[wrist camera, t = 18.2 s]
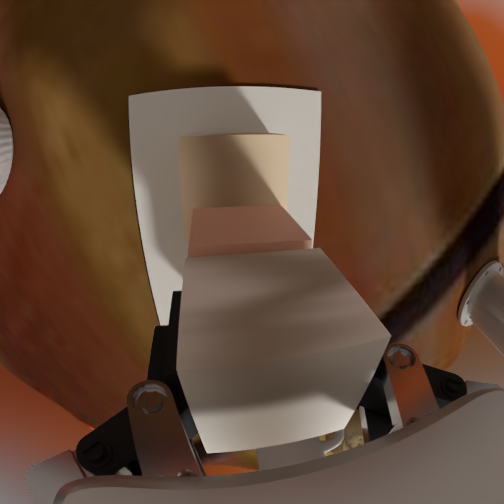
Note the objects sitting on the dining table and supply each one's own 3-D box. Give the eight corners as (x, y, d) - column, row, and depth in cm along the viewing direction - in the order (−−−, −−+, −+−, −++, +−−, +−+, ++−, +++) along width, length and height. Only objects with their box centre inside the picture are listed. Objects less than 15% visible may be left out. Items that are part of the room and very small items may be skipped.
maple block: (269, 132, 18) (289, 135, 14) (268, 210, 21) (285, 235, 16) (184, 135, 17) (177, 138, 13) (189, 215, 20) (185, 242, 16)
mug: (260, 426, 37) (274, 485, 27) (237, 406, 33) (250, 476, 23) (331, 399, 36) (356, 456, 26) (320, 374, 32) (350, 443, 22)
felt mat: (319, 91, 17) (321, 91, 17) (303, 310, 26) (304, 312, 26) (129, 96, 15) (128, 95, 15) (161, 323, 24) (160, 325, 24)
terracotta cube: (281, 205, 16) (312, 239, 11) (276, 279, 18) (299, 330, 13) (193, 208, 15) (188, 246, 10) (199, 284, 17) (199, 340, 13)
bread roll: (334, 438, 46) (346, 467, 39) (309, 422, 39) (323, 459, 32) (374, 417, 45) (388, 445, 38) (359, 396, 38) (378, 432, 31)
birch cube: (319, 248, 10) (391, 335, 6) (306, 342, 12) (343, 428, 8) (185, 257, 9) (176, 369, 5) (200, 354, 12) (206, 453, 7)
